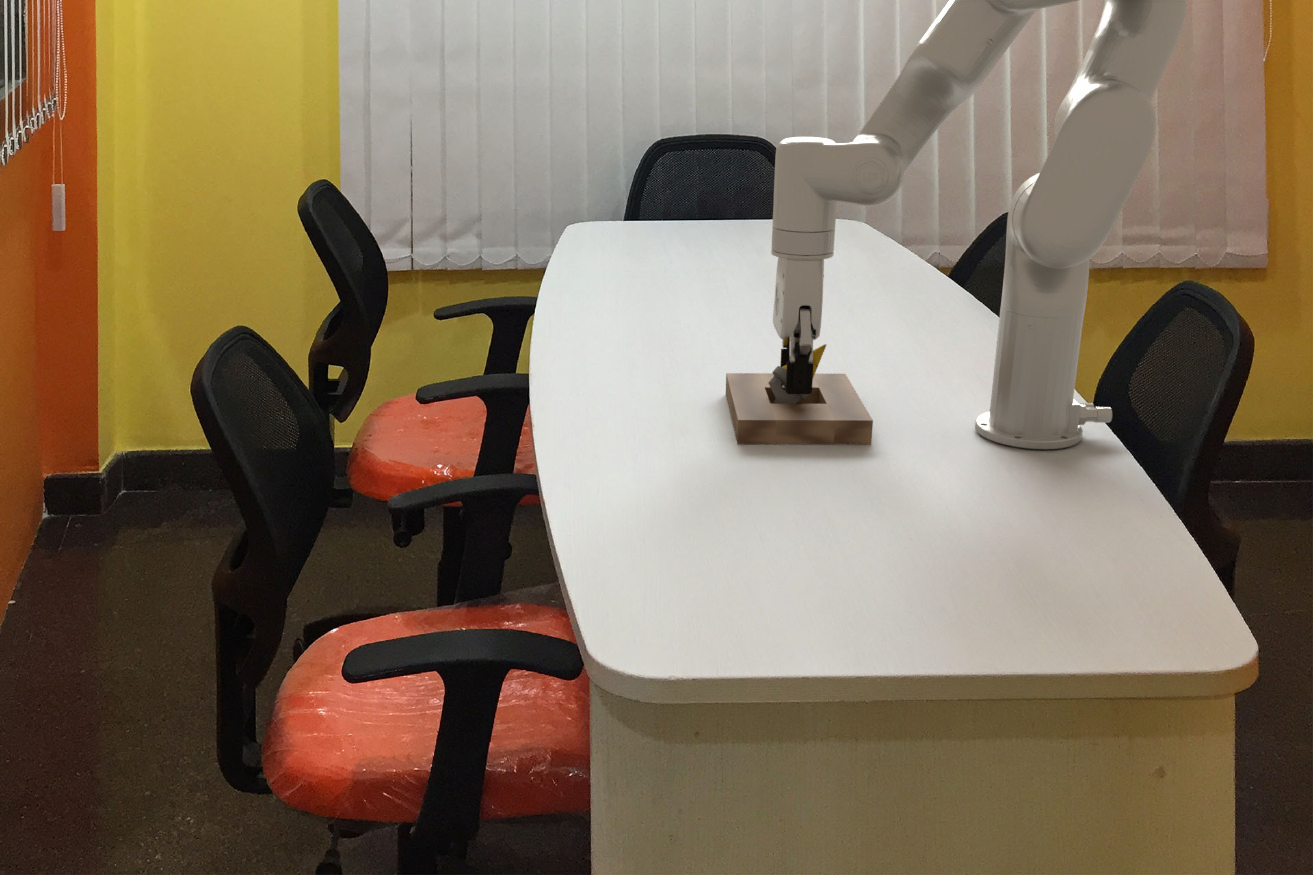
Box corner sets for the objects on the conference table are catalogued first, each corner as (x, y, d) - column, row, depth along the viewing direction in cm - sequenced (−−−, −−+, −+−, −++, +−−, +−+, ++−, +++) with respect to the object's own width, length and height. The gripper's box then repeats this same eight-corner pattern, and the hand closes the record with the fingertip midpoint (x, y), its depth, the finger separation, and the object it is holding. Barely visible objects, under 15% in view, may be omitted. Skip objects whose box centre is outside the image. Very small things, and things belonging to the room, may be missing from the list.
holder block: (843, 395, 162) (845, 373, 161) (871, 444, 143) (873, 420, 142) (725, 394, 162) (726, 373, 161) (737, 443, 143) (738, 420, 142)
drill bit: (762, 397, 155) (813, 340, 155) (792, 422, 152) (844, 364, 153) (753, 382, 150) (807, 323, 150) (785, 407, 147) (839, 348, 148)
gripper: (764, 230, 153) (759, 367, 159) (779, 255, 137) (773, 406, 143) (823, 231, 153) (815, 368, 159) (845, 256, 137) (835, 407, 143)
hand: (795, 384), depth 151 cm, fingers closed on drill bit, 5 cm apart
